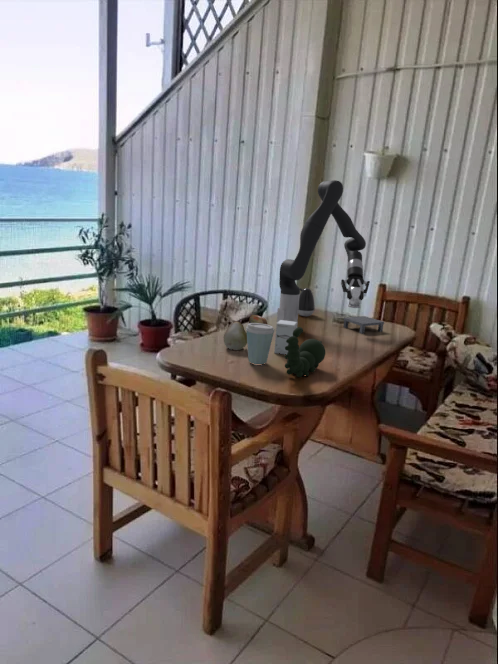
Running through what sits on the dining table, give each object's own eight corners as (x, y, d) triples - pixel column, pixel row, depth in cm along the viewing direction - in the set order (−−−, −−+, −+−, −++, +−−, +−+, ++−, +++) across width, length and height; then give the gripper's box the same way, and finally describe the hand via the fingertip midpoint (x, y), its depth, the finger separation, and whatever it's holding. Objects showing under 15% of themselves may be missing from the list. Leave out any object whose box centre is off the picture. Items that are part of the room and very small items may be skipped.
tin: (247, 330, 239) (248, 312, 237) (253, 330, 240) (254, 312, 238) (261, 338, 226) (262, 319, 224) (268, 337, 227) (269, 319, 225)
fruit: (250, 347, 209) (251, 319, 207) (244, 353, 201) (245, 324, 198) (226, 344, 212) (228, 316, 209) (219, 350, 203) (220, 321, 200)
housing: (353, 308, 238) (355, 288, 236) (345, 306, 243) (347, 286, 241) (362, 307, 241) (364, 287, 239) (354, 305, 246) (356, 286, 243)
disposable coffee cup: (255, 357, 196) (258, 319, 193) (278, 363, 190) (280, 325, 186) (238, 362, 188) (240, 323, 185) (260, 369, 182) (263, 329, 178)
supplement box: (273, 353, 203) (275, 322, 200) (278, 349, 210) (280, 319, 207) (291, 356, 201) (294, 325, 198) (295, 351, 208) (297, 321, 205)
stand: (361, 333, 244) (362, 323, 243) (342, 327, 256) (343, 317, 254) (383, 331, 251) (384, 321, 250) (363, 325, 262) (364, 316, 261)
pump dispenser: (304, 312, 287) (306, 286, 283) (317, 316, 279) (320, 289, 275) (291, 314, 280) (293, 287, 277) (305, 318, 273) (307, 290, 269)
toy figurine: (301, 388, 170) (331, 364, 190) (304, 334, 164) (335, 315, 184) (276, 382, 175) (308, 359, 195) (278, 329, 168) (310, 311, 189)
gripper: (341, 264, 245) (341, 293, 237) (371, 266, 244) (372, 295, 236) (339, 274, 252) (339, 302, 243) (368, 275, 251) (369, 304, 242)
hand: (355, 298), depth 239 cm, fingers closed on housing, 5 cm apart
